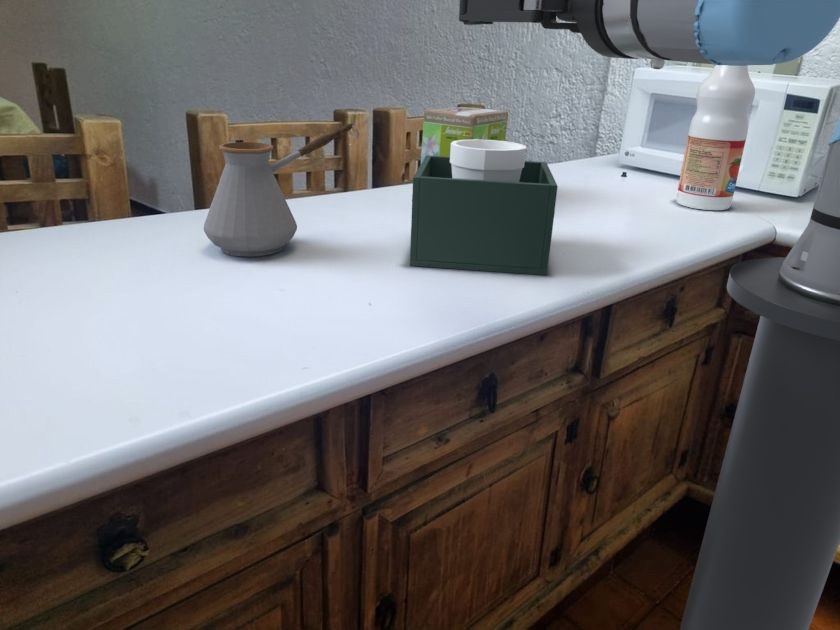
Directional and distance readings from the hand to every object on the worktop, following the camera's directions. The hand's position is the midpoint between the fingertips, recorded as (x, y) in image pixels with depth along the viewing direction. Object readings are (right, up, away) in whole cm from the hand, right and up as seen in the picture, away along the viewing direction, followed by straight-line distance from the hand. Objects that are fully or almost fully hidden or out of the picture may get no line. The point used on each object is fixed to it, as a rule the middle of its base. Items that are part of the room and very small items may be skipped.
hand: (530, 13), depth 68 cm
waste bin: (-4, -23, +20) cm, 30 cm away
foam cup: (-3, -22, +19) cm, 29 cm away
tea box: (-4, -9, +53) cm, 54 cm away
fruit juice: (+40, -11, +52) cm, 66 cm away
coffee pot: (-29, -22, +20) cm, 41 cm away
